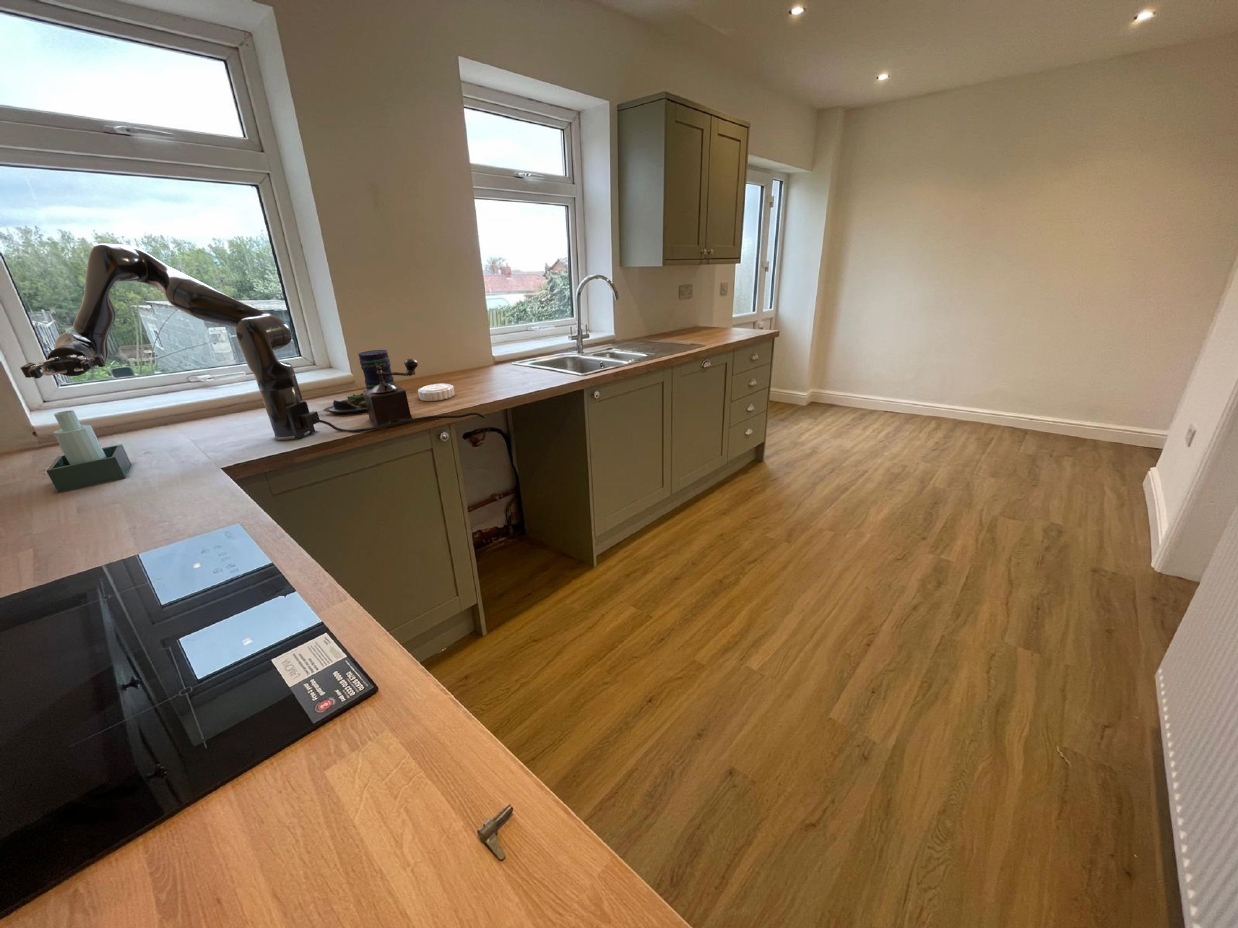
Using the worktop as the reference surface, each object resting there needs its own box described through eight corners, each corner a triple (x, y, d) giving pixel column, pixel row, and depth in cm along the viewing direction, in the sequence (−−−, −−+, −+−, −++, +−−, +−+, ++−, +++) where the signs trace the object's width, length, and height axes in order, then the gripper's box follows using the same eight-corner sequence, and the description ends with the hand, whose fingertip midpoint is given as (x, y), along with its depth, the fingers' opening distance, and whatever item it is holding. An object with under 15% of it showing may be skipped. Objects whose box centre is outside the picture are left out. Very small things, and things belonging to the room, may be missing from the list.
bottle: (119, 471, 124) (89, 408, 117) (89, 481, 118) (56, 417, 112) (101, 469, 125) (70, 408, 119) (71, 480, 120) (37, 416, 113)
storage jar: (361, 395, 183) (351, 354, 178) (382, 388, 192) (373, 349, 186) (382, 397, 180) (372, 355, 174) (402, 390, 188) (393, 350, 182)
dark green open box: (131, 464, 129) (122, 444, 127) (125, 478, 120) (115, 456, 118) (69, 476, 123) (58, 456, 121) (58, 492, 114) (46, 470, 112)
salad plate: (338, 402, 176) (334, 389, 175) (391, 396, 180) (388, 384, 178) (320, 418, 159) (316, 404, 157) (380, 412, 162) (377, 398, 160)
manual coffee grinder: (377, 428, 147) (362, 367, 140) (368, 419, 155) (354, 362, 148) (430, 416, 156) (418, 358, 148) (419, 409, 164) (407, 353, 157)
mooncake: (413, 398, 177) (411, 388, 176) (444, 390, 185) (442, 380, 184) (429, 403, 169) (427, 393, 168) (461, 395, 177) (459, 385, 176)
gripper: (25, 349, 126) (8, 360, 115) (101, 340, 134) (92, 349, 122) (41, 378, 130) (26, 392, 118) (114, 367, 137) (107, 379, 126)
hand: (60, 370), depth 120 cm, fingers open, 8 cm apart
